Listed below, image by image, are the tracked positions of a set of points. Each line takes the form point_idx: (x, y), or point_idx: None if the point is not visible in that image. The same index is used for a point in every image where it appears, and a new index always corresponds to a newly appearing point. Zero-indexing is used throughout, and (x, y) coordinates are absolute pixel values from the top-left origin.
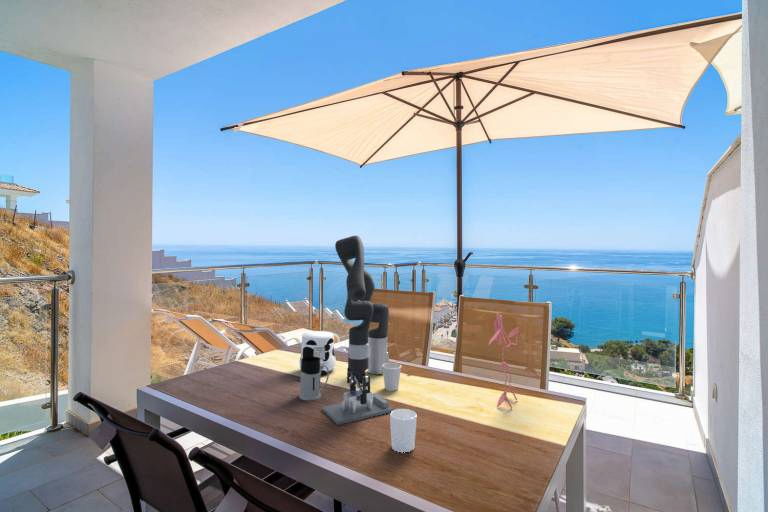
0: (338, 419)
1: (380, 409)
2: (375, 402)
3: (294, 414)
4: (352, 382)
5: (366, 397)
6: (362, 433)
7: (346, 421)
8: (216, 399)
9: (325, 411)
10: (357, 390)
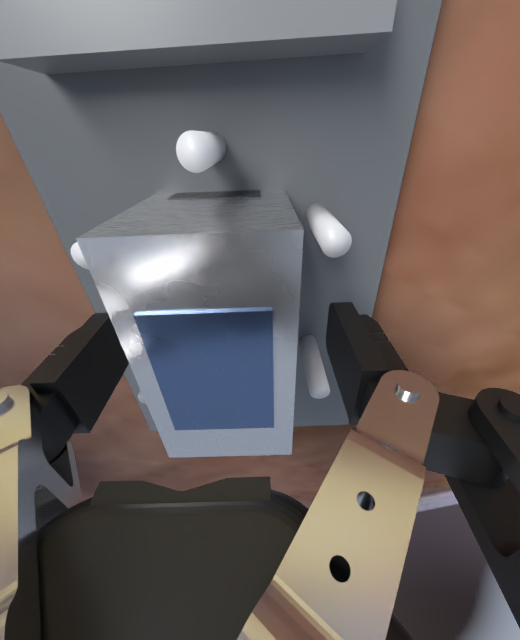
0: (328, 417)
1: (364, 113)
2: (163, 65)
3: (169, 481)
4: (76, 499)
5: (395, 351)
6: (497, 358)
7: None
8: None
9: None
10: (135, 357)
